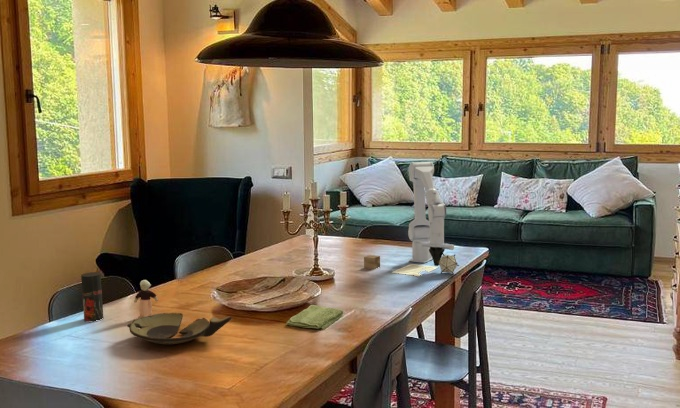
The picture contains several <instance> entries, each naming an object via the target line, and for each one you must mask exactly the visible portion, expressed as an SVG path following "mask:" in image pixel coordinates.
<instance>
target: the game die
mask: <svg viewBox="0 0 680 408" xmlns="http://www.w3.org/2000/svg"><path fill="white" fill-rule="evenodd" d="M455 256H456V253H455V254H453V255H451V254H445V253H444V252H443V254H442V257H441V259H440V261H439V262H438V261H437V263H439V265H438V266H439V268H440V270H441V271H440V274H442V273H450V274H452V275H454V272H455V270H456V268H457V267H460V264H458V262H457V259H456V257H455Z"/></svg>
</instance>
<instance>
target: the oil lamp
mask: <svg viewBox="0 0 680 408" xmlns="http://www.w3.org/2000/svg"><path fill="white" fill-rule="evenodd" d="M183 315H184V314H183V313H179V312H178V313H177V312H169V313H168V312H163V313H156V314H152V315H151V316H147V317H143V318H140V319H138V318H137V319H133V320H131V323H127V324H126V325H127V326H126V327H127V328H129V333H130V334H131V335H133V336H134V337H136V338H138V339H141V340H144V341H147V342H150V343H153V344H159V345H166V346H167V345H177V344H184V343H187V342H190V341H193V340H196V339H198V338H200V337H207V338H208V337H211V336H213V335H214V334H215V333H216V332H218V331H219V330H220V329H221V328H223V327H224V326H225V325H226V324H228V322H230V321H231V320H232V318H233V317H232V316H230V315H229V316H225V317H224V318H217V317H213V316H212V317H211V318H210V319H209V320H208V319H206V318H205V317H202V318H197V319H195V320H193V321H192V322H191V323H189V324H188V325H187V326H185V327H184V328H182V329H181V330H180V327H181V324H182V320H183V317H184V316H183ZM178 333H179V334H180V335H182V336H180V337H174V336H176V334H178Z"/></svg>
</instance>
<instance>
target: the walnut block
mask: <svg viewBox="0 0 680 408" xmlns="http://www.w3.org/2000/svg"><path fill="white" fill-rule="evenodd" d="M378 267H379V268H381V255H374V254H369V255H366V256H363V268H364V269H366V270H377V269H379V268H378ZM376 268H377V269H376Z"/></svg>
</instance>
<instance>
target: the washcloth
mask: <svg viewBox="0 0 680 408" xmlns="http://www.w3.org/2000/svg"><path fill="white" fill-rule="evenodd" d="M343 314H344V311H343V309H340V308H335V307H324V306H321V305H316V304H311V305H309V306H308V307H307V308H305V309H303V310H302V311H300V312H299V313H297V314H295V315H293V316H292V317H290V318H289V319H288V320H287V321H286V323H285V324H286V325H287V326H288V327H297V328H304V329H315V330H320V331H323V330H326V329H327V328H328V327H330V326H331V325H333V324H334V323H335V322H336V321H338V320H340V318H342V317H343Z"/></svg>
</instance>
